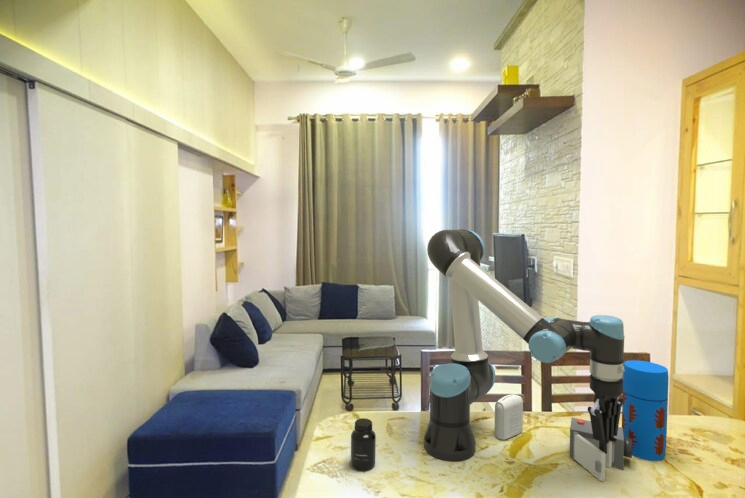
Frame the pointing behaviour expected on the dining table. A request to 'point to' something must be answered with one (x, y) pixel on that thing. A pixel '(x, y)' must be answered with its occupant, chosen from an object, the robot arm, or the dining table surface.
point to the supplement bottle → (363, 445)
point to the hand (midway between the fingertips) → (605, 463)
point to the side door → (589, 456)
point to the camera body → (585, 430)
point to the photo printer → (508, 416)
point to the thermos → (645, 408)
